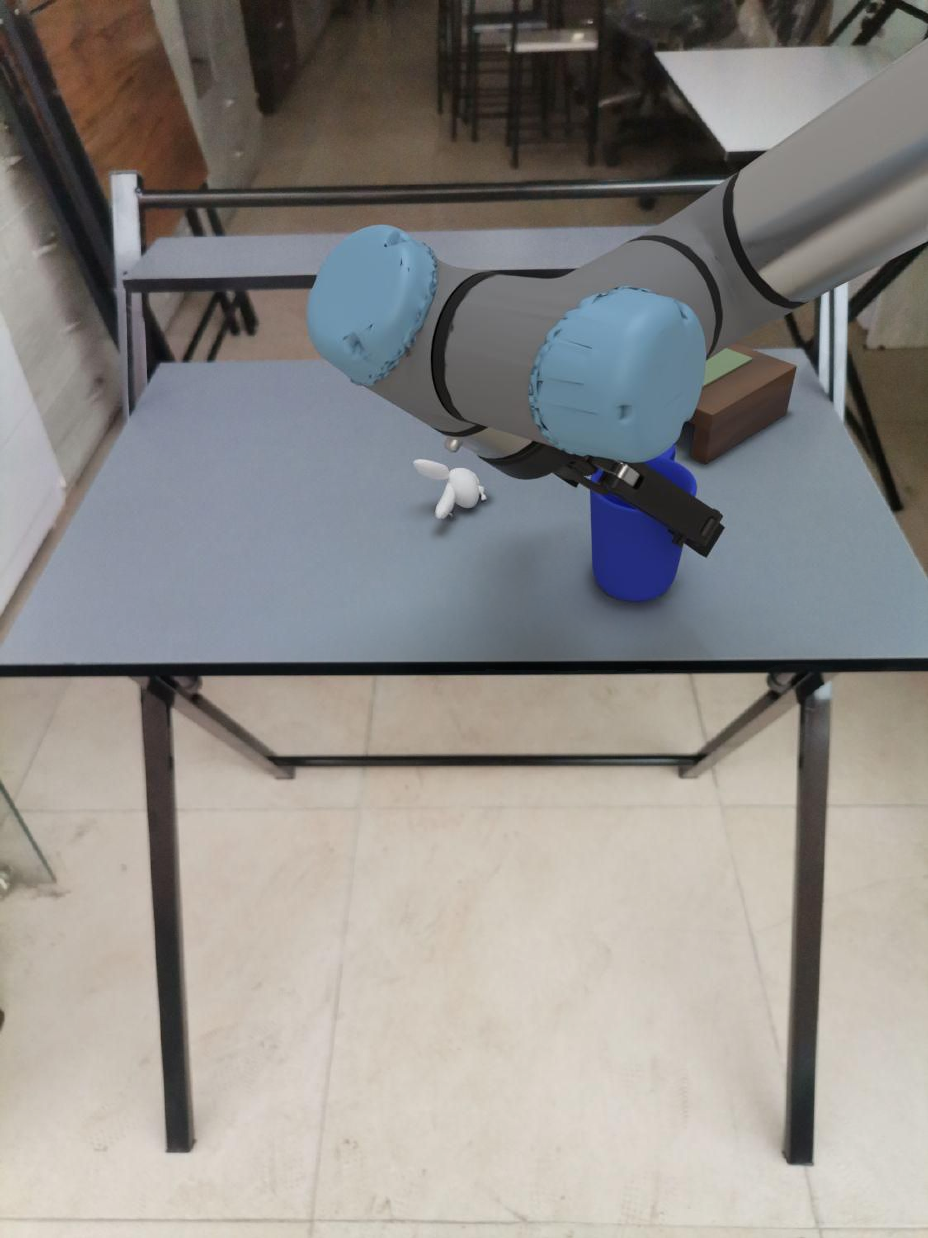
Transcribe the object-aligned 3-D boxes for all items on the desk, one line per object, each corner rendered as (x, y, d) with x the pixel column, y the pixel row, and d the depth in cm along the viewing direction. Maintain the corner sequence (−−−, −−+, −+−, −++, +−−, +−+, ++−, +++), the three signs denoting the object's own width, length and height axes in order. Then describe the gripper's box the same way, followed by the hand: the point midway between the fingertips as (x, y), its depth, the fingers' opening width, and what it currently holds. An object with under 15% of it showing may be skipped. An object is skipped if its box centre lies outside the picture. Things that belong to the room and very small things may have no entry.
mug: (703, 538, 82) (719, 440, 75) (667, 623, 74) (682, 521, 67) (614, 519, 85) (622, 423, 78) (570, 598, 77) (575, 499, 70)
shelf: (787, 413, 98) (797, 363, 94) (705, 464, 91) (713, 413, 87) (654, 360, 108) (658, 313, 104) (571, 402, 101) (573, 354, 97)
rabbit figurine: (505, 508, 87) (447, 509, 81) (478, 529, 89) (420, 531, 83) (480, 454, 88) (422, 451, 82) (454, 476, 91) (396, 474, 85)
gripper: (359, 391, 65) (512, 484, 82) (631, 542, 51) (747, 617, 68) (411, 295, 64) (555, 410, 81) (703, 422, 50) (803, 529, 67)
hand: (643, 505), depth 75 cm, fingers open, 13 cm apart
